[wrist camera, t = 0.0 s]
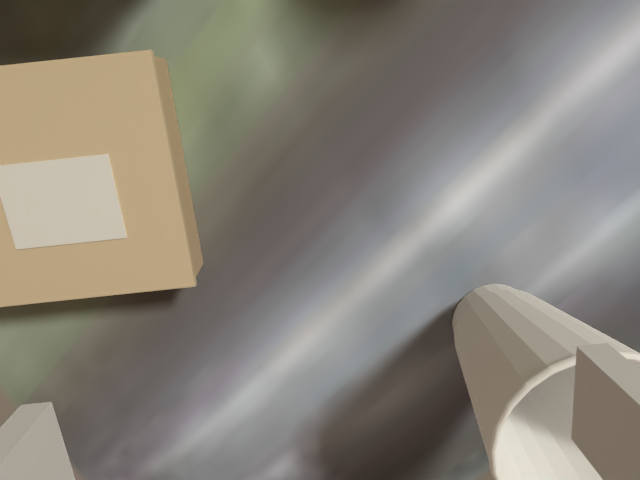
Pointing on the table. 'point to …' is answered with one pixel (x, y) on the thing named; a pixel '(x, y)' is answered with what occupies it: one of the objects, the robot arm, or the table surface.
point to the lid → (87, 182)
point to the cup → (524, 381)
